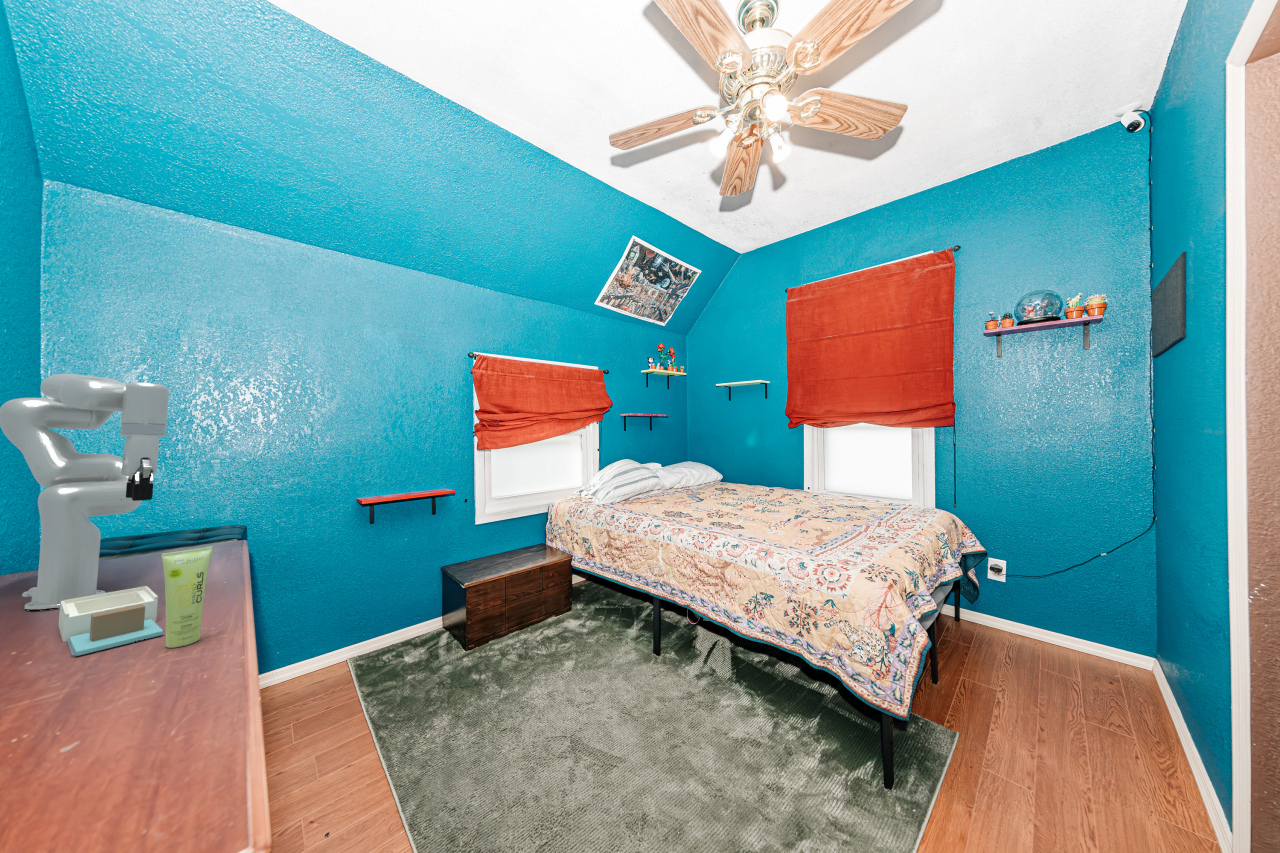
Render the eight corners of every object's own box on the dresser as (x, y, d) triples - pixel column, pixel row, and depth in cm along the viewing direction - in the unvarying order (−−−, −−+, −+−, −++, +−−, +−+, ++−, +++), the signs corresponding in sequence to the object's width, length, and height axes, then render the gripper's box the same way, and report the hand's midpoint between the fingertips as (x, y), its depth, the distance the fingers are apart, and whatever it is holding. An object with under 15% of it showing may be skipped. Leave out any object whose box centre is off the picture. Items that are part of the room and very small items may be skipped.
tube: (182, 649, 86) (189, 552, 87) (154, 650, 85) (161, 553, 86) (207, 637, 91) (213, 546, 92) (180, 638, 90) (186, 546, 92)
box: (58, 626, 96) (60, 600, 96) (145, 608, 107) (146, 585, 107) (62, 642, 88) (65, 614, 89) (156, 621, 99) (157, 596, 99)
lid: (68, 640, 88) (71, 612, 89) (151, 622, 98) (152, 597, 98) (76, 656, 82) (78, 625, 82) (163, 634, 92) (165, 607, 92)
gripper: (115, 431, 108) (110, 497, 107) (126, 430, 99) (120, 502, 98) (159, 432, 115) (154, 495, 114) (173, 431, 105) (168, 499, 104)
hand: (138, 498), depth 106 cm, fingers open, 9 cm apart
